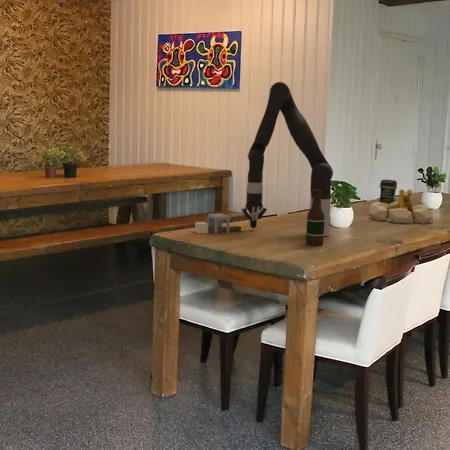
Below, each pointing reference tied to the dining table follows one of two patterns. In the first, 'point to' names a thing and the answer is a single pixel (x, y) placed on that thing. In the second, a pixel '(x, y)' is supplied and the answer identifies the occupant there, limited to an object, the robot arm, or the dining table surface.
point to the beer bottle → (315, 221)
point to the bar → (224, 229)
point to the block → (201, 227)
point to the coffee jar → (387, 191)
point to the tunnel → (218, 221)
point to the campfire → (401, 210)
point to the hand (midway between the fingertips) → (253, 227)
